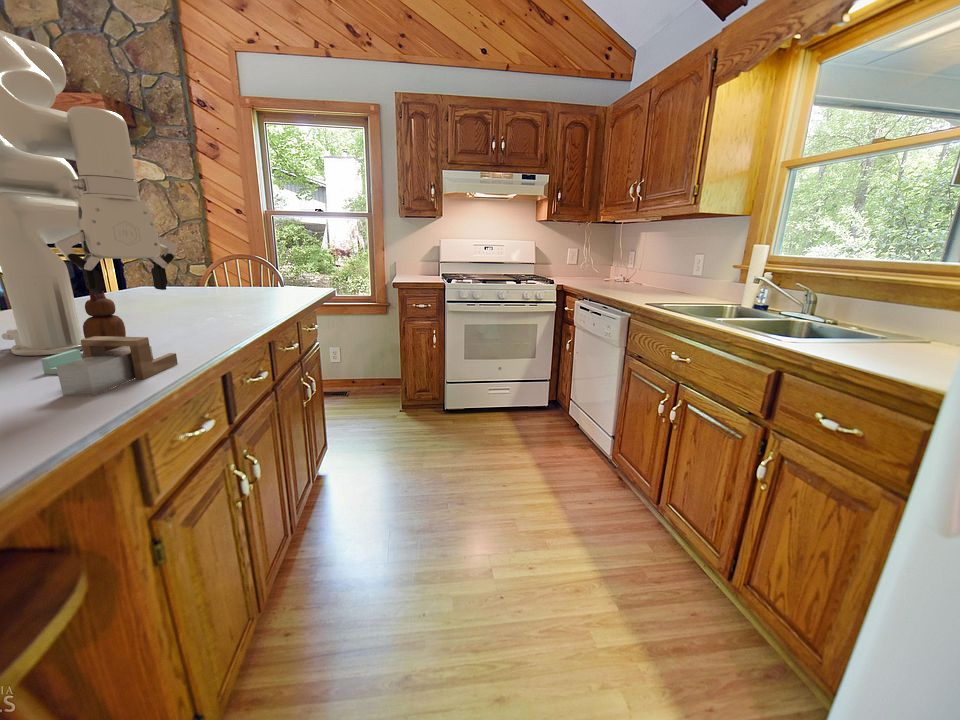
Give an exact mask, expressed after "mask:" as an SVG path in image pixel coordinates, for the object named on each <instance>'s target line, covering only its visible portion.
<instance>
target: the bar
mask: <svg viewBox="0 0 960 720" xmlns="http://www.w3.org/2000/svg"><path fill="white" fill-rule="evenodd" d="M150 351H151V356H152V360H154V359H155V358H154V355H153V349H152V346H151V345H150ZM82 358H83V359H80V360H76V361H73V362H70V363H66V364H63V365H60V366H57V367H56V368H57V372H58V374H57V376H58V380H59V384H60V387H61V392H62V396H63V397H95V396H98V395H100V393H101V394H103V393H105V392H107V391H106V390H108V391H110V390H112V389H111V388H113V387H115V386H117V387H119V386H118V385H120V384H122V383H125V382H127V381H129V380H132V379H134V378H136V377H135V372H134V366H133V361H132V356H131V350H130V346H122V347H119V348H116V349H112V350H109V351H106V352H103V353H99V354H96V355H93V356H89V357H86V358H84V357H82ZM134 380H135V379H134ZM132 381H133V380H132ZM129 382H130V381H129ZM127 383H128V382H127ZM125 384H126V383H125ZM122 385H123V384H122ZM120 386H121V385H120ZM115 388H116V387H115ZM109 389H110V390H109ZM113 389H114V388H113ZM104 391H105V392H104ZM102 392H103V393H102Z"/></svg>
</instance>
